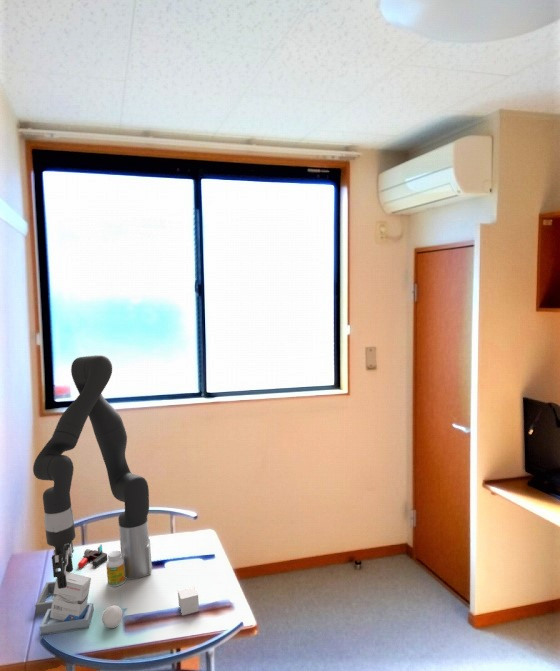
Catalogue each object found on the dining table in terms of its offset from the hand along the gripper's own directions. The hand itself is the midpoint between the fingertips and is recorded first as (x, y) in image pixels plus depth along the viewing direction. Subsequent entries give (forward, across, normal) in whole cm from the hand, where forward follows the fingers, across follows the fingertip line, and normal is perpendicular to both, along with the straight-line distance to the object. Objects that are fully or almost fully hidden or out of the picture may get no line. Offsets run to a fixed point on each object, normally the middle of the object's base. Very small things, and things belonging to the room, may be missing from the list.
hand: (65, 579), depth 151 cm
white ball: (+13, +4, +12) cm, 19 cm away
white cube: (+14, +3, +33) cm, 36 cm away
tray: (+13, 0, -1) cm, 13 cm away
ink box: (+11, 0, -1) cm, 11 cm away
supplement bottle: (+14, -19, +10) cm, 25 cm away
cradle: (+13, -13, -6) cm, 19 cm away
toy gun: (+14, -36, -1) cm, 39 cm away
